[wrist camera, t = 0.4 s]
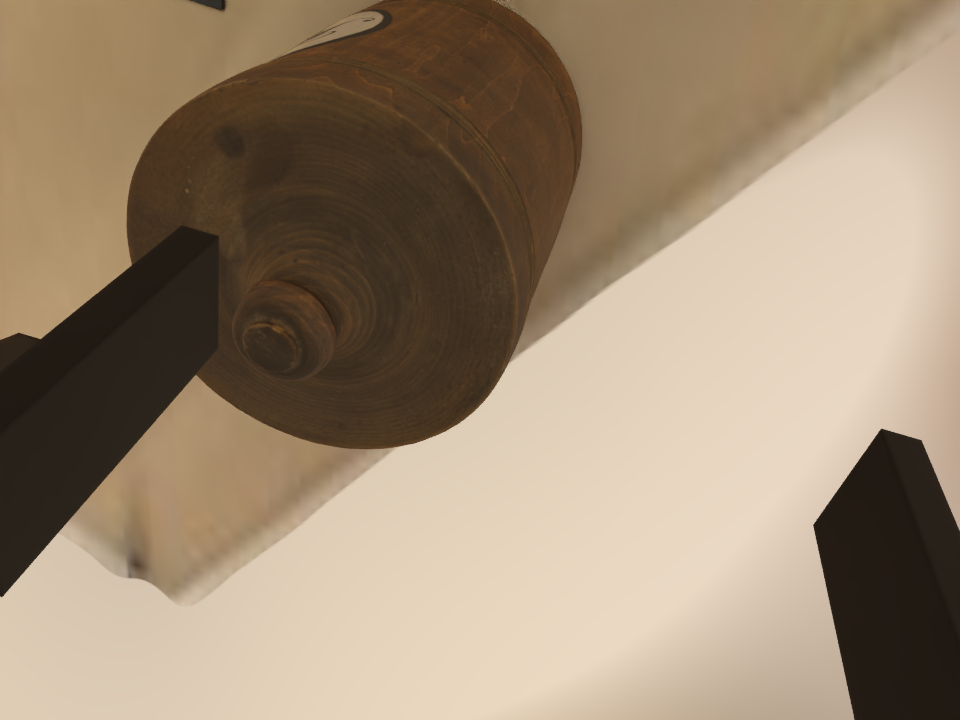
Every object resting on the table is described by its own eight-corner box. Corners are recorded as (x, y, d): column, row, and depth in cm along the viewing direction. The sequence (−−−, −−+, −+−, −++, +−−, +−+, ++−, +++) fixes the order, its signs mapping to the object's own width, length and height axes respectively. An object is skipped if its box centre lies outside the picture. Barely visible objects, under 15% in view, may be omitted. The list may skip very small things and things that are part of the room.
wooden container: (354, -66, 37) (52, 16, 19) (632, 62, 37) (590, 257, 20) (293, 197, 46) (45, 422, 28) (519, 298, 46) (418, 583, 28)
